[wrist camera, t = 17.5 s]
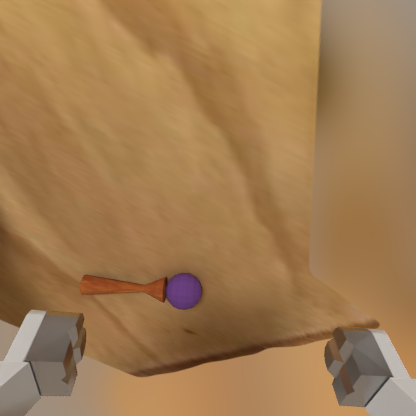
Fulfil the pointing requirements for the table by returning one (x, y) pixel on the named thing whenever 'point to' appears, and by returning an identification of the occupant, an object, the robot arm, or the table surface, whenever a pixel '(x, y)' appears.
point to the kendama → (150, 289)
